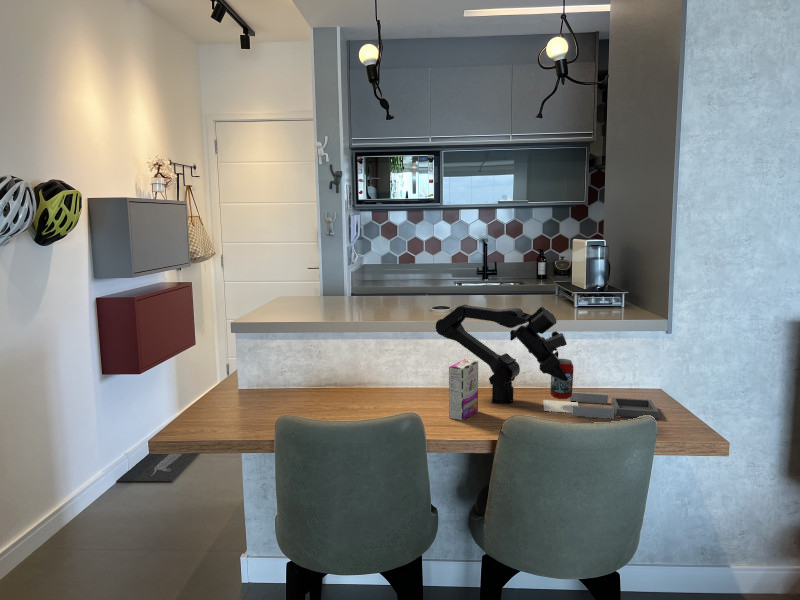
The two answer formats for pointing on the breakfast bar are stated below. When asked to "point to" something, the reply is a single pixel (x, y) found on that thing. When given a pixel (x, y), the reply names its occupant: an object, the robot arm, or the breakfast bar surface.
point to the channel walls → (591, 411)
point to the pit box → (633, 407)
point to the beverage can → (561, 387)
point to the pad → (559, 406)
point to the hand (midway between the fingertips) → (566, 377)
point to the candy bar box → (463, 389)
